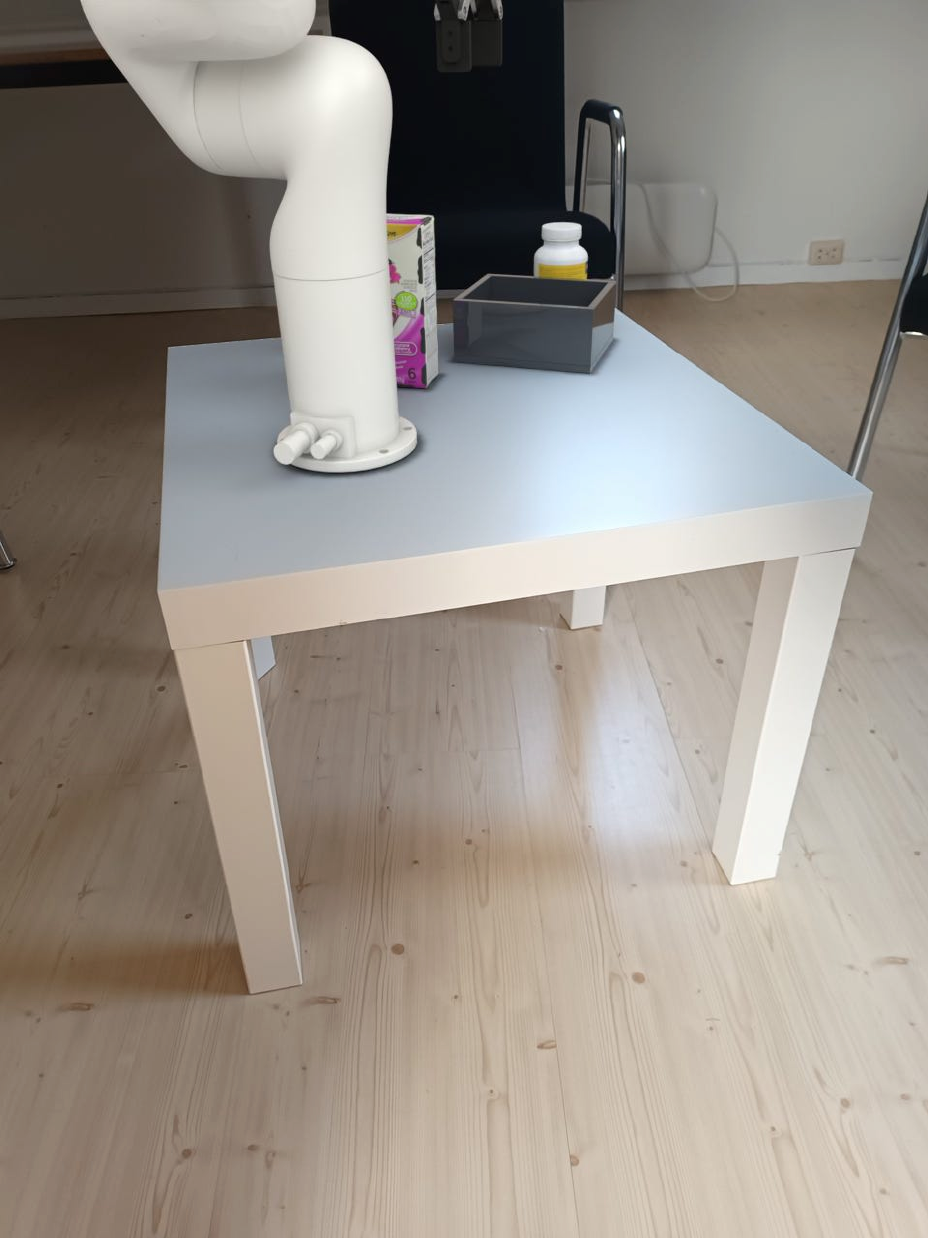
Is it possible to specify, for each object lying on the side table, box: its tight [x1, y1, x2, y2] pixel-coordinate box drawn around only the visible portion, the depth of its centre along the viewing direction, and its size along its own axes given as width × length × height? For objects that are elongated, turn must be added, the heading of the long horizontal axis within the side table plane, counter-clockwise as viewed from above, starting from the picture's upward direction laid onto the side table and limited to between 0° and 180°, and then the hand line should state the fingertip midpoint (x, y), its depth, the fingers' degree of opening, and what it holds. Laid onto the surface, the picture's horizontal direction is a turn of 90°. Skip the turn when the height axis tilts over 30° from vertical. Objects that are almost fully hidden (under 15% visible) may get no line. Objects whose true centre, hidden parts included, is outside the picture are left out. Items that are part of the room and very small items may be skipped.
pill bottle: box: [533, 221, 589, 279], centre depth 112 cm, size 6×6×12 cm
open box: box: [452, 273, 617, 374], centre depth 105 cm, size 13×16×7 cm
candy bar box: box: [386, 213, 440, 389], centre depth 95 cm, size 11×5×16 cm, turn 76°
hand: (471, 68), depth 90 cm, fingers open, 9 cm apart
